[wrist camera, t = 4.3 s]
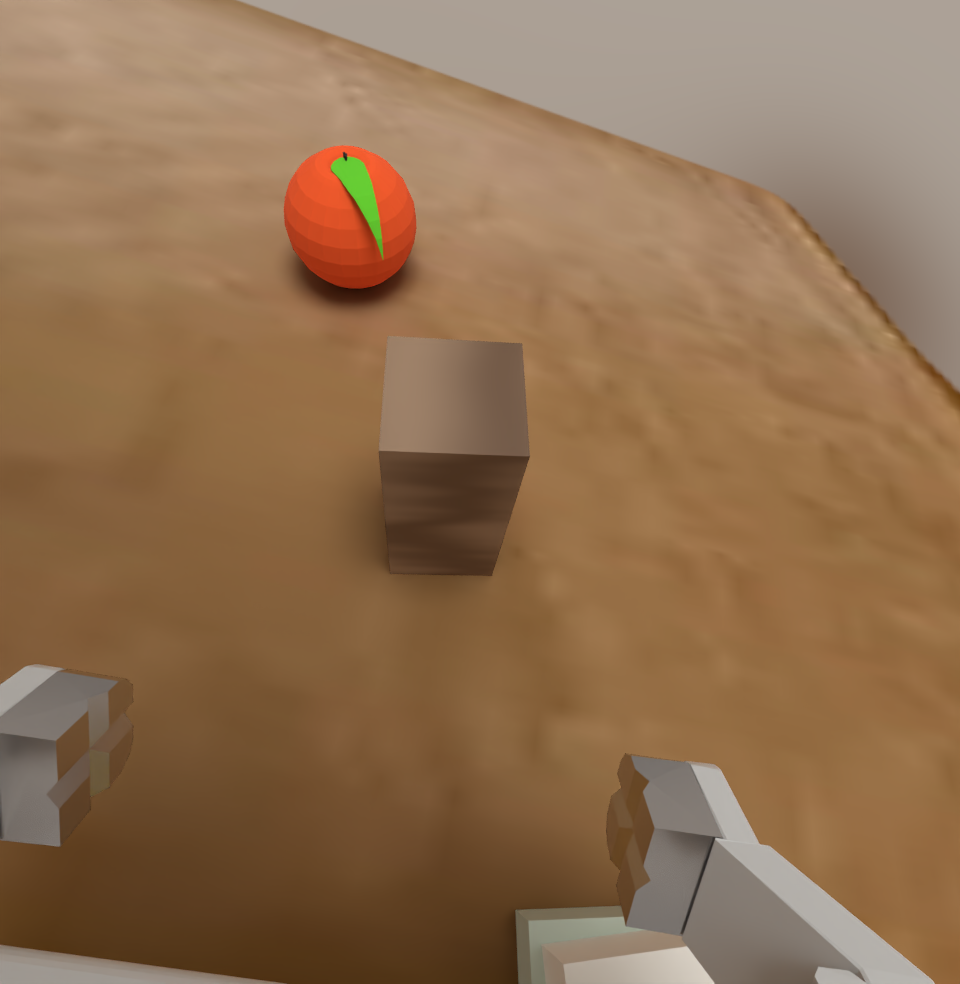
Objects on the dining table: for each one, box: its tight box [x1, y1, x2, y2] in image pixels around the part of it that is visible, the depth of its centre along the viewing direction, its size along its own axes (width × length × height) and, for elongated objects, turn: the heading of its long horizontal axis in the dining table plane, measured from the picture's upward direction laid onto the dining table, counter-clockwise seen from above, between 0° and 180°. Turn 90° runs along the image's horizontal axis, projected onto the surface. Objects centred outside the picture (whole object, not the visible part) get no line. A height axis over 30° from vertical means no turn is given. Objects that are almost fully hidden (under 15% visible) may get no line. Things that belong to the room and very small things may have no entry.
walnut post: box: [379, 336, 530, 576], centre depth 23 cm, size 4×4×10 cm
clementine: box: [284, 146, 416, 288], centre depth 32 cm, size 8×7×7 cm
